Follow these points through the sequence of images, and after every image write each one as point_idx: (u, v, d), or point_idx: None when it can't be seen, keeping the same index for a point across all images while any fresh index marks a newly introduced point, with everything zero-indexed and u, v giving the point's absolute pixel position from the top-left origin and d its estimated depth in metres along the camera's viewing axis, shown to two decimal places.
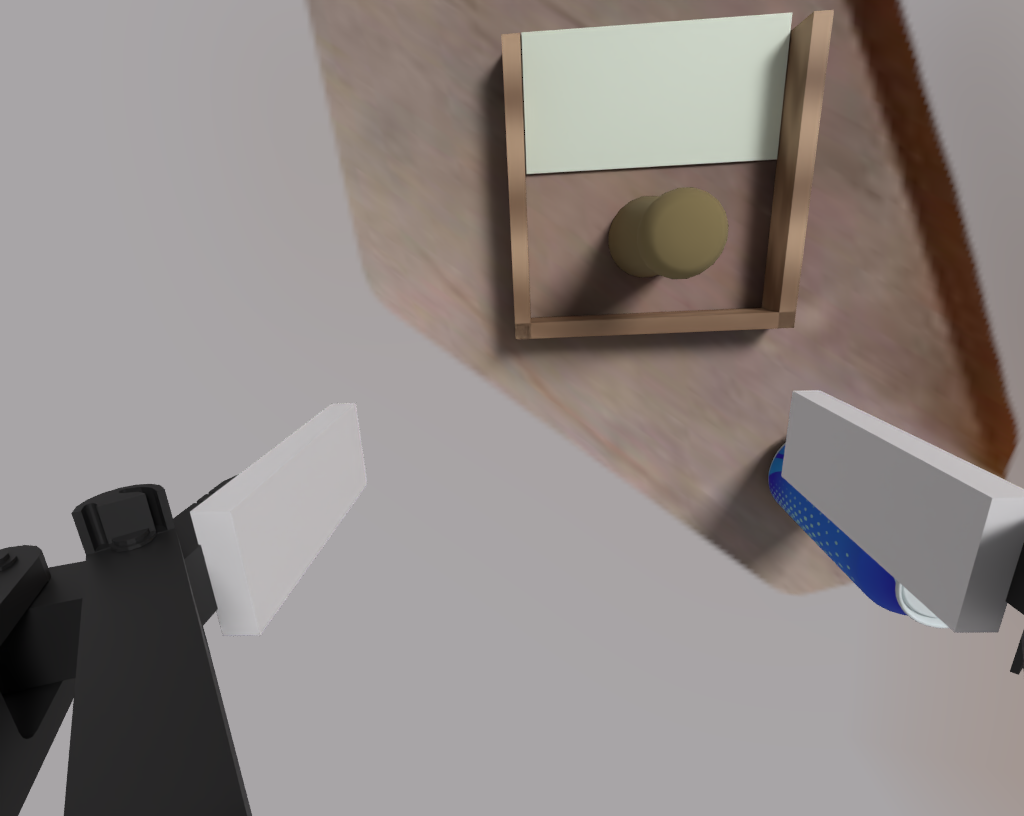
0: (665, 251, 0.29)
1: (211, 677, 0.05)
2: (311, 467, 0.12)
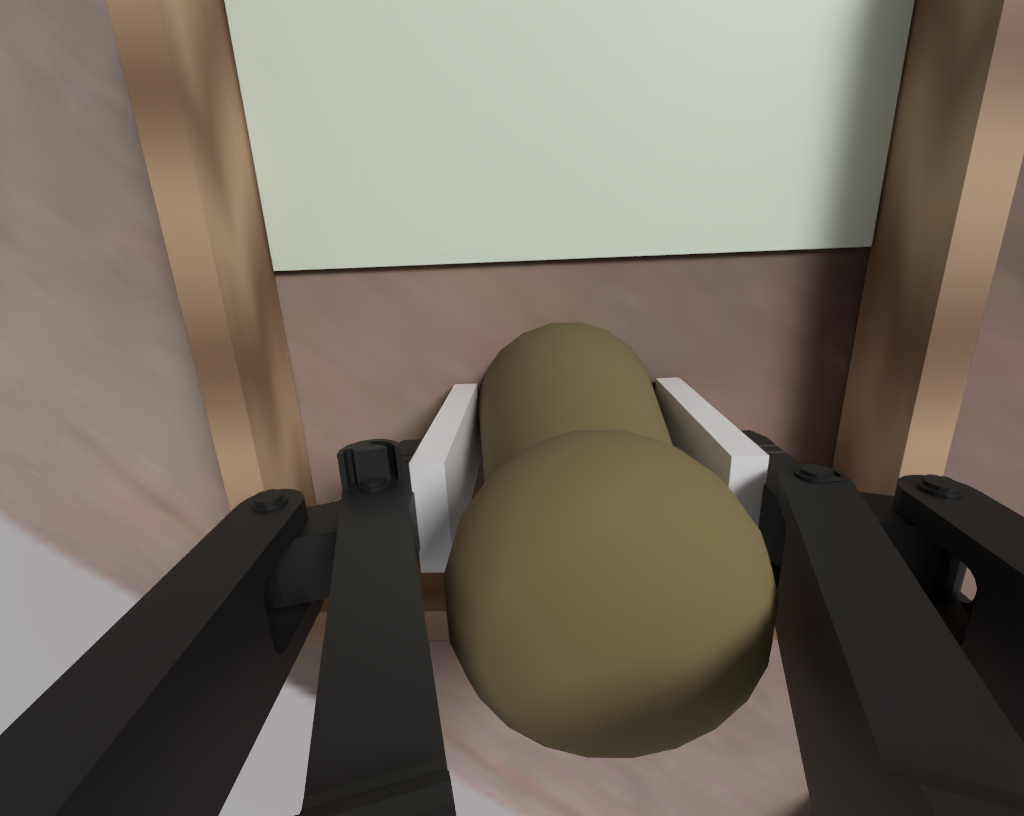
0: (523, 712, 0.07)
1: (423, 617, 0.06)
2: (465, 435, 0.14)
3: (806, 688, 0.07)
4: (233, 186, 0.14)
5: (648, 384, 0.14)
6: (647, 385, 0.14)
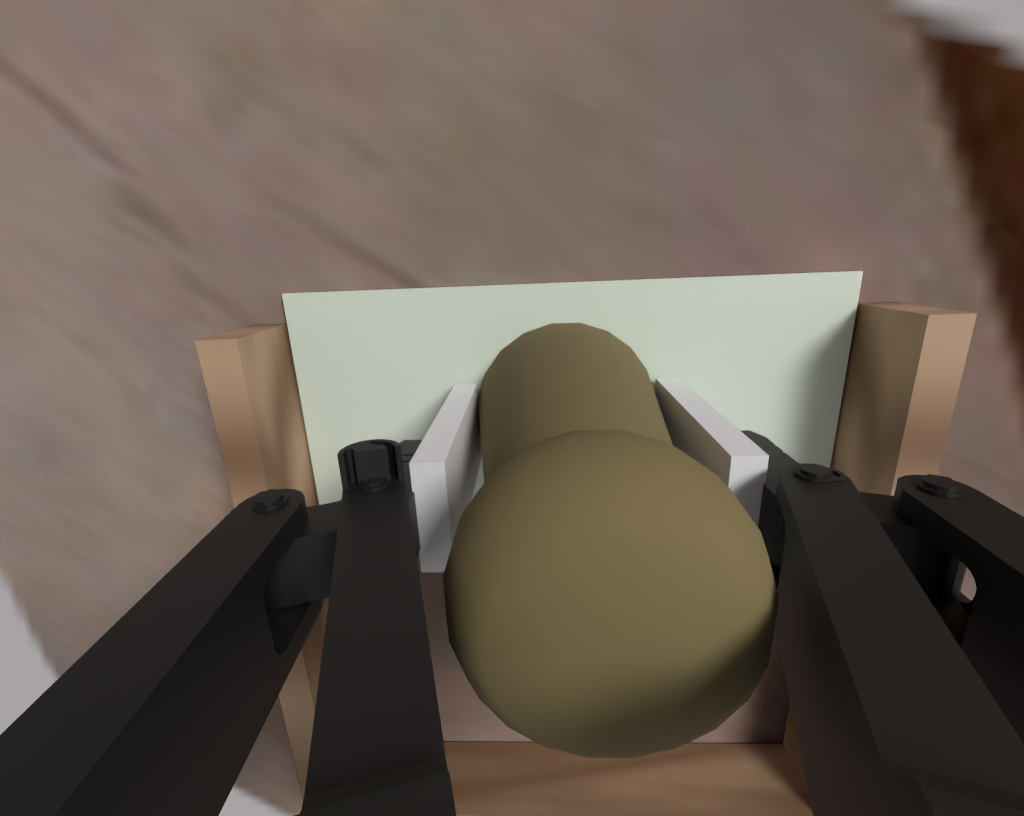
0: (523, 712, 0.07)
1: (424, 617, 0.06)
2: (465, 435, 0.14)
3: (806, 688, 0.07)
4: None
5: (648, 384, 0.14)
6: (647, 385, 0.14)
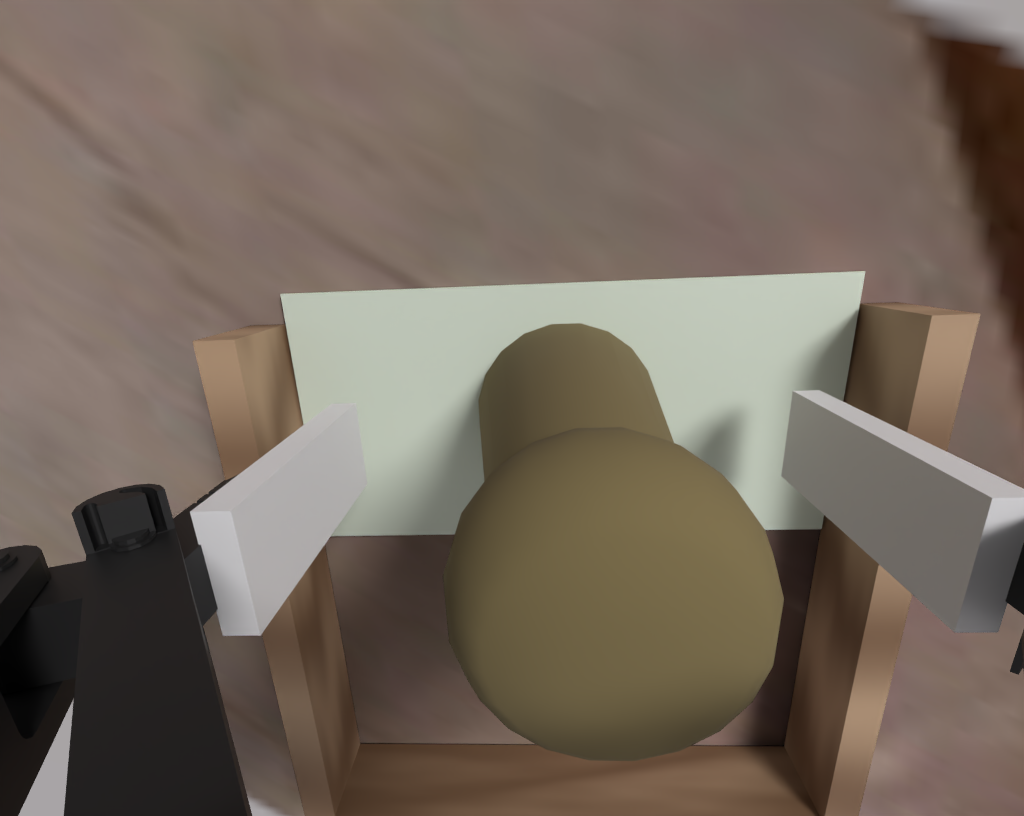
0: (524, 713, 0.07)
1: (211, 677, 0.05)
2: (311, 467, 0.12)
3: None
4: None
5: (649, 384, 0.14)
6: (648, 385, 0.14)
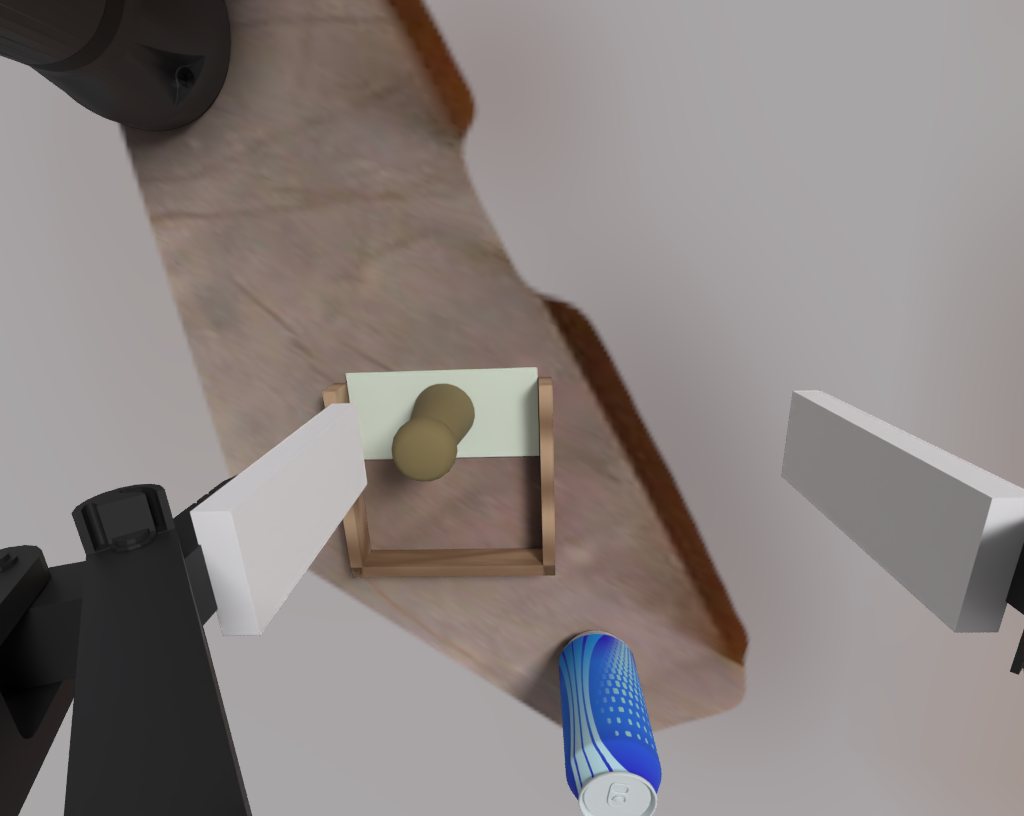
0: (405, 468, 0.38)
1: (211, 677, 0.05)
2: (311, 467, 0.12)
3: None
4: None
5: (462, 404, 0.46)
6: (460, 405, 0.45)
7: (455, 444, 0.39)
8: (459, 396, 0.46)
